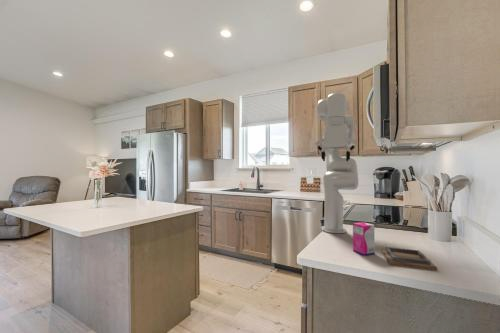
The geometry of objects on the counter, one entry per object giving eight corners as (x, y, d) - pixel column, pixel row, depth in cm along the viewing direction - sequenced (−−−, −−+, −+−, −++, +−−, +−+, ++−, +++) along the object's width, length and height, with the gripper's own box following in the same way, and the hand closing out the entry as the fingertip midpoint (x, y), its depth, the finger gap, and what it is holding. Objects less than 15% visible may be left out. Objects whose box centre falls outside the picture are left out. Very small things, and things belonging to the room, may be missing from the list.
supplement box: (363, 249, 100) (363, 221, 100) (375, 254, 94) (375, 225, 94) (352, 250, 97) (352, 222, 97) (363, 256, 92) (364, 226, 92)
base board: (381, 251, 97) (381, 245, 97) (421, 256, 93) (421, 249, 93) (389, 264, 84) (389, 257, 84) (437, 270, 79) (437, 263, 79)
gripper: (356, 123, 106) (355, 161, 106) (316, 124, 112) (315, 161, 112) (358, 119, 99) (357, 161, 99) (315, 121, 105) (314, 160, 105)
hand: (335, 161), depth 106 cm, fingers open, 9 cm apart
